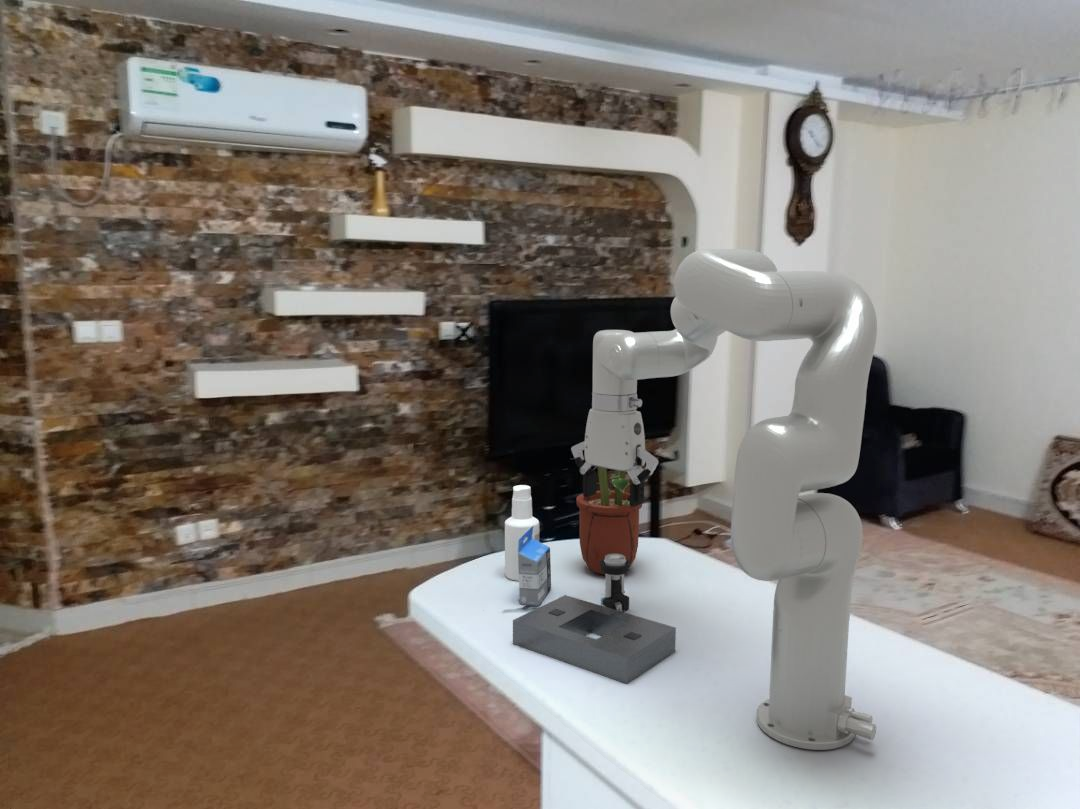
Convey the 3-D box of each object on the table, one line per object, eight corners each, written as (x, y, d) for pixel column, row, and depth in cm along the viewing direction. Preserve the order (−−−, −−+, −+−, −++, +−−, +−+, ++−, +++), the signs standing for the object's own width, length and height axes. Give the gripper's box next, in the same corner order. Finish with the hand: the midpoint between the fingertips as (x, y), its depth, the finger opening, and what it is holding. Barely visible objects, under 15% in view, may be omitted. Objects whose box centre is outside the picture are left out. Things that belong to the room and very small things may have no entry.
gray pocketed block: (675, 651, 139) (675, 626, 138) (626, 683, 128) (627, 657, 127) (565, 616, 152) (565, 594, 152) (512, 643, 142) (512, 619, 141)
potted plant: (562, 569, 176) (563, 398, 170) (614, 552, 186) (616, 390, 181) (627, 593, 163) (630, 408, 158) (679, 573, 174) (684, 399, 168)
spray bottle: (546, 575, 173) (546, 486, 170) (522, 584, 168) (522, 493, 165) (521, 567, 177) (521, 481, 174) (497, 575, 172) (497, 487, 170)
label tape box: (539, 606, 157) (539, 541, 155) (517, 604, 158) (517, 539, 156) (551, 589, 165) (551, 526, 163) (531, 587, 166) (531, 525, 164)
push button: (604, 620, 151) (605, 565, 149) (587, 610, 155) (587, 556, 154) (635, 612, 154) (636, 558, 152) (617, 603, 159) (618, 550, 157)
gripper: (669, 405, 146) (667, 504, 149) (586, 395, 157) (584, 487, 160) (645, 411, 140) (643, 514, 143) (560, 400, 151) (559, 496, 154)
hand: (612, 500), depth 151 cm, fingers open, 9 cm apart
